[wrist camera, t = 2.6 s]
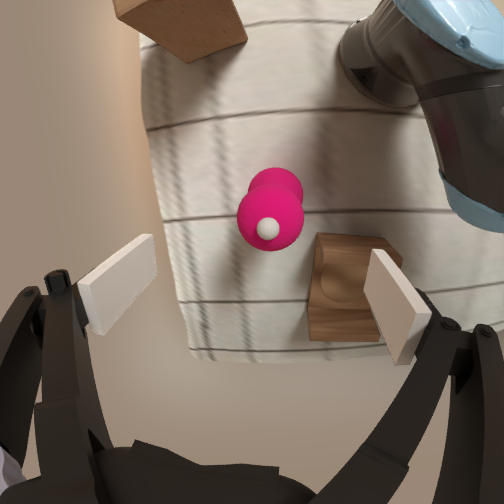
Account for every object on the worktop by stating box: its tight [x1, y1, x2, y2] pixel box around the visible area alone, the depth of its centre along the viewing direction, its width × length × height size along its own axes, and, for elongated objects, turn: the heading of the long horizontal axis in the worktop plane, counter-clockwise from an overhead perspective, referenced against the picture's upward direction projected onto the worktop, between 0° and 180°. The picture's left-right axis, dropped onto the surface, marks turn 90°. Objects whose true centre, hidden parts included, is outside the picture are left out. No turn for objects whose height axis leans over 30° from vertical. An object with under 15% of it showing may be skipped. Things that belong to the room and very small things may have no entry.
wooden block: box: [113, 0, 248, 63], centre depth 21 cm, size 10×10×20 cm
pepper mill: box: [237, 168, 304, 251], centre depth 30 cm, size 7×7×20 cm
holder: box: [307, 232, 403, 342], centre depth 39 cm, size 14×11×8 cm
